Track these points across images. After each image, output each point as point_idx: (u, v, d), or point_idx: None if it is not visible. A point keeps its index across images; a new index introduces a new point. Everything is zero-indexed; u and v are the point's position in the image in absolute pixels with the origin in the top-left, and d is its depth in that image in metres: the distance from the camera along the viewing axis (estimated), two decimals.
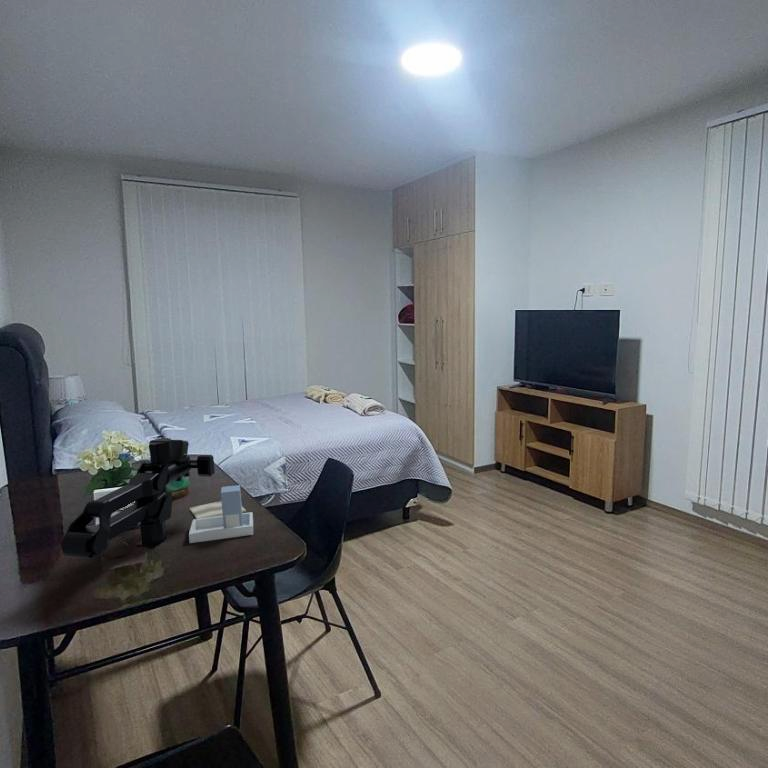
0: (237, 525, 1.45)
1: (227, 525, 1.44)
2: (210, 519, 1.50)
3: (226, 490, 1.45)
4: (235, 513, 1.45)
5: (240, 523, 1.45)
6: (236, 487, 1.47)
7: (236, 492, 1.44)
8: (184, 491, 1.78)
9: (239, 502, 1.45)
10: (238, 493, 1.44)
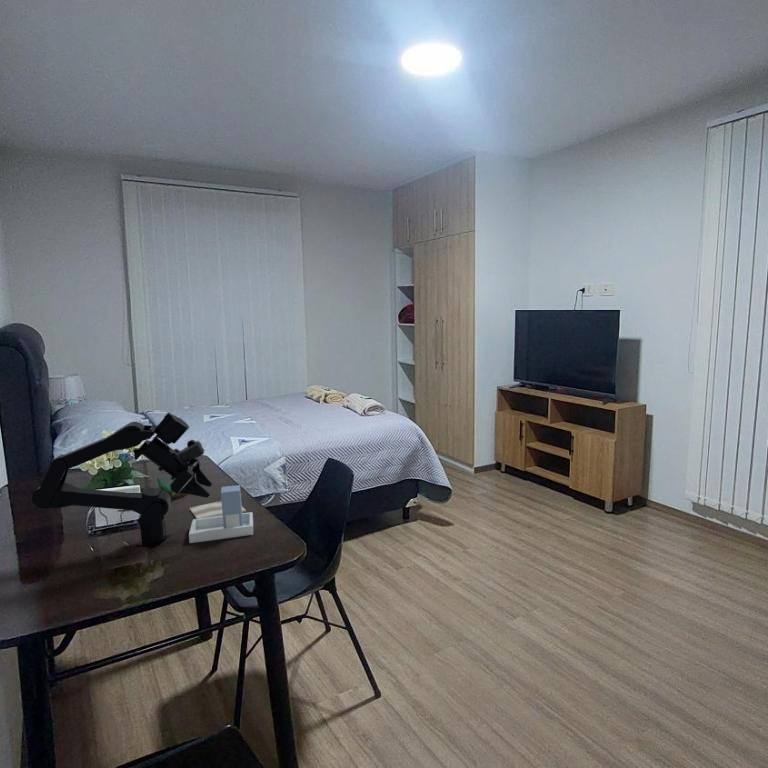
0: (237, 525, 1.45)
1: (227, 525, 1.44)
2: (210, 519, 1.50)
3: (226, 490, 1.45)
4: (235, 513, 1.45)
5: (240, 523, 1.45)
6: (236, 487, 1.47)
7: (236, 492, 1.44)
8: None
9: (239, 502, 1.45)
10: (238, 493, 1.44)
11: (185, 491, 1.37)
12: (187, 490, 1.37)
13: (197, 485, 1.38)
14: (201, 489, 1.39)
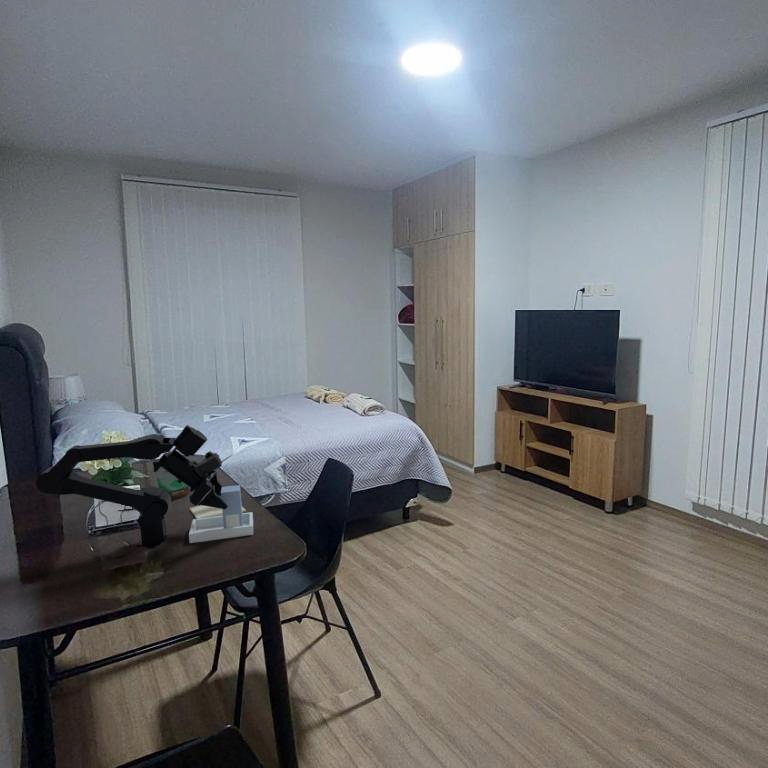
0: (237, 525, 1.45)
1: (227, 525, 1.44)
2: (210, 519, 1.50)
3: (226, 490, 1.45)
4: (235, 513, 1.45)
5: (240, 523, 1.45)
6: (236, 487, 1.47)
7: (236, 492, 1.44)
8: (184, 491, 1.78)
9: (239, 502, 1.45)
10: (238, 493, 1.44)
11: (204, 503, 1.38)
12: (206, 502, 1.39)
13: (215, 497, 1.39)
14: (219, 501, 1.40)
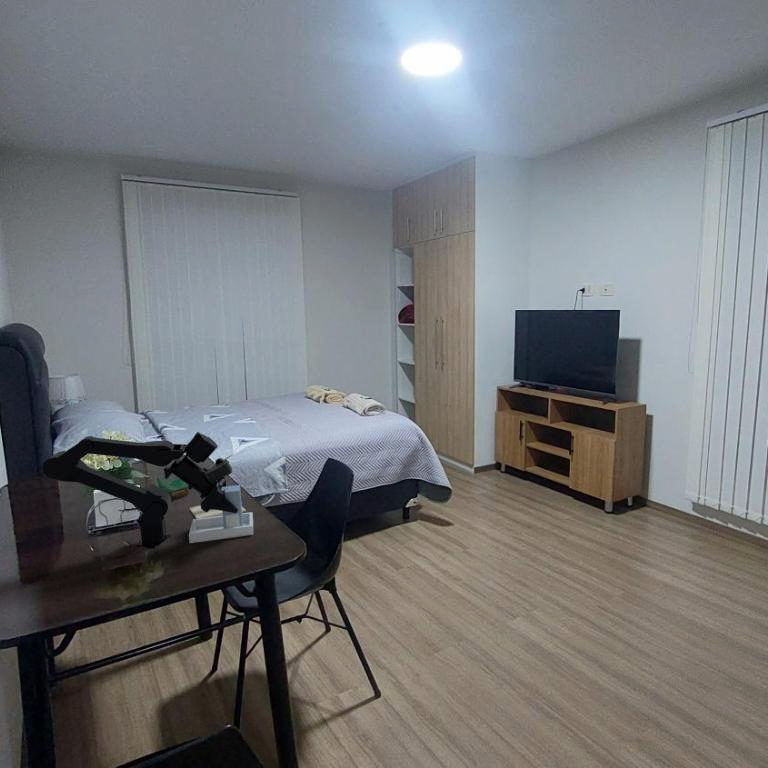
0: (237, 525, 1.45)
1: (227, 525, 1.44)
2: (210, 519, 1.50)
3: (226, 490, 1.45)
4: (235, 513, 1.45)
5: (240, 523, 1.45)
6: (236, 487, 1.47)
7: (236, 492, 1.44)
8: (184, 491, 1.78)
9: (239, 502, 1.45)
10: (238, 493, 1.44)
11: (215, 507, 1.41)
12: (217, 506, 1.41)
13: (226, 501, 1.42)
14: (230, 505, 1.43)
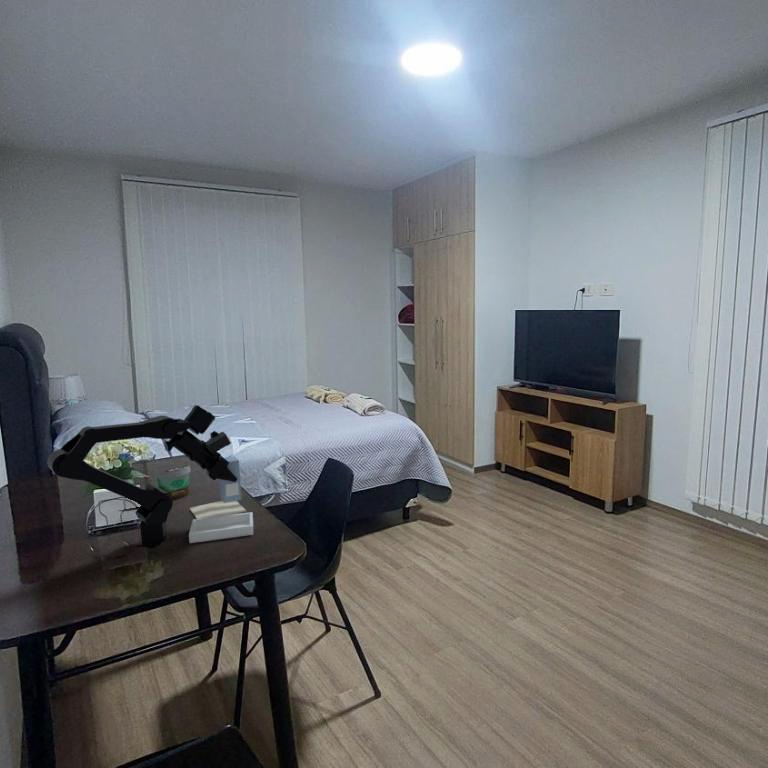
0: (236, 493, 1.52)
1: (227, 493, 1.51)
2: (210, 519, 1.50)
3: None
4: None
5: (239, 491, 1.53)
6: (233, 458, 1.54)
7: (235, 462, 1.51)
8: (184, 491, 1.78)
9: (238, 471, 1.52)
10: (237, 462, 1.52)
11: (218, 476, 1.47)
12: (219, 475, 1.48)
13: (228, 470, 1.49)
14: (231, 474, 1.50)
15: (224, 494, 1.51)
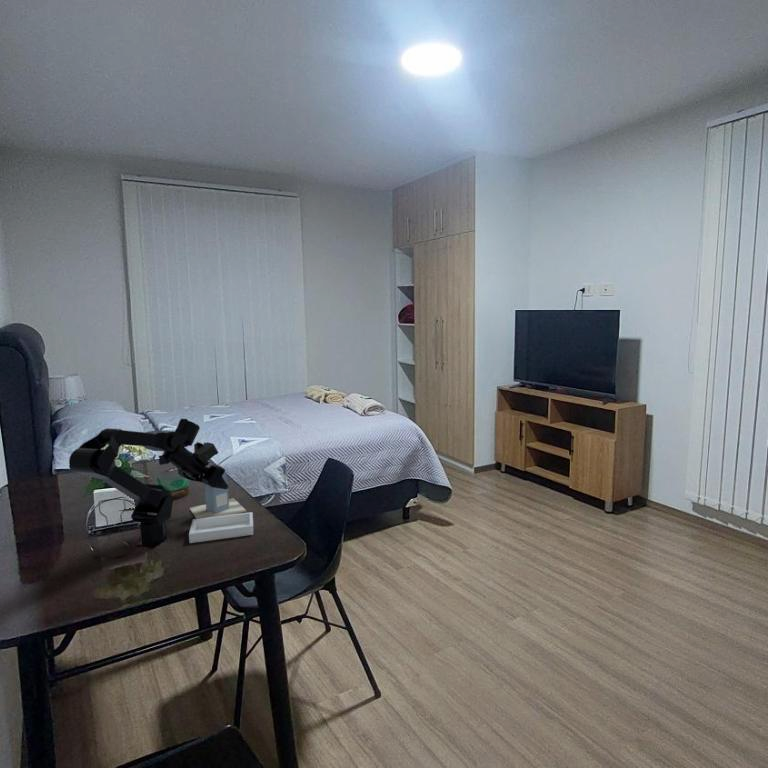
0: (225, 503, 1.61)
1: (217, 504, 1.59)
2: (210, 519, 1.50)
3: None
4: (223, 492, 1.61)
5: (227, 501, 1.62)
6: None
7: None
8: (184, 491, 1.78)
9: (226, 482, 1.61)
10: (225, 474, 1.61)
11: None
12: None
13: (222, 478, 1.57)
14: (224, 482, 1.58)
15: (215, 505, 1.59)
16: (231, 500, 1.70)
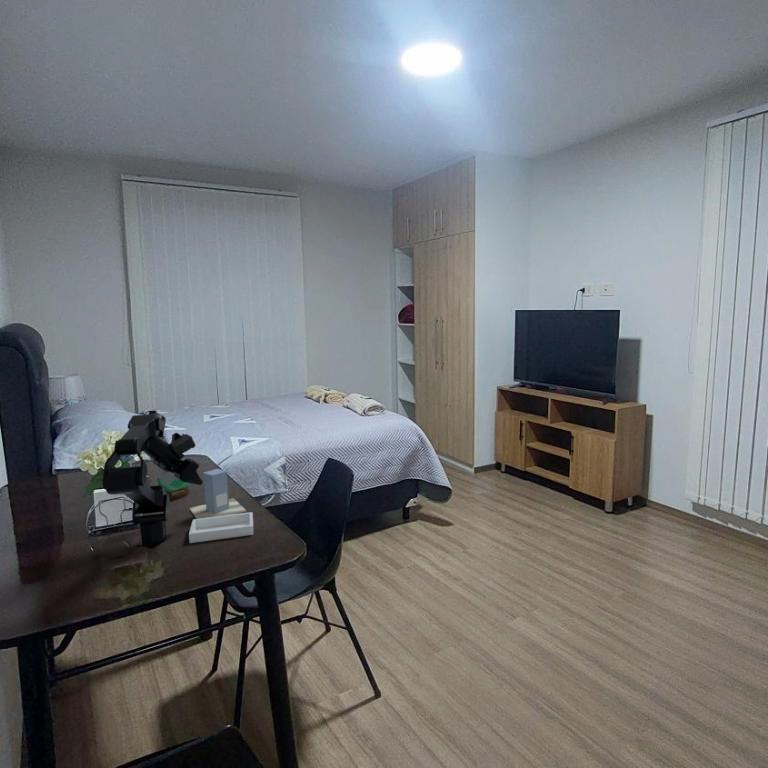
0: (225, 503, 1.61)
1: (217, 504, 1.59)
2: (210, 519, 1.50)
3: (212, 473, 1.59)
4: (223, 492, 1.61)
5: (227, 501, 1.62)
6: (218, 470, 1.62)
7: (223, 473, 1.61)
8: (184, 491, 1.78)
9: (226, 482, 1.61)
10: (225, 474, 1.61)
11: (186, 480, 1.48)
12: (188, 479, 1.49)
13: (196, 474, 1.50)
14: (198, 477, 1.52)
15: (215, 505, 1.59)
16: (231, 500, 1.70)
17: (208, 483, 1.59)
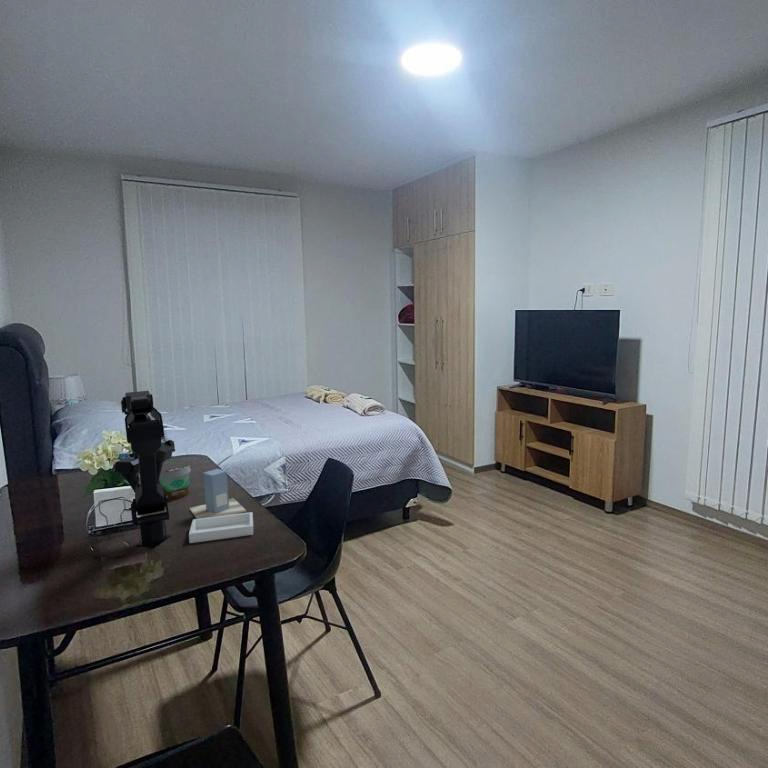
0: (225, 503, 1.61)
1: (217, 504, 1.59)
2: (210, 519, 1.50)
3: (212, 473, 1.59)
4: (223, 492, 1.61)
5: (227, 501, 1.62)
6: (218, 470, 1.62)
7: (223, 473, 1.61)
8: (184, 491, 1.78)
9: (226, 482, 1.61)
10: (225, 474, 1.61)
11: (123, 474, 1.46)
12: (125, 475, 1.46)
13: (134, 479, 1.46)
14: (135, 483, 1.46)
15: (215, 505, 1.59)
16: (231, 500, 1.70)
17: (208, 483, 1.59)
